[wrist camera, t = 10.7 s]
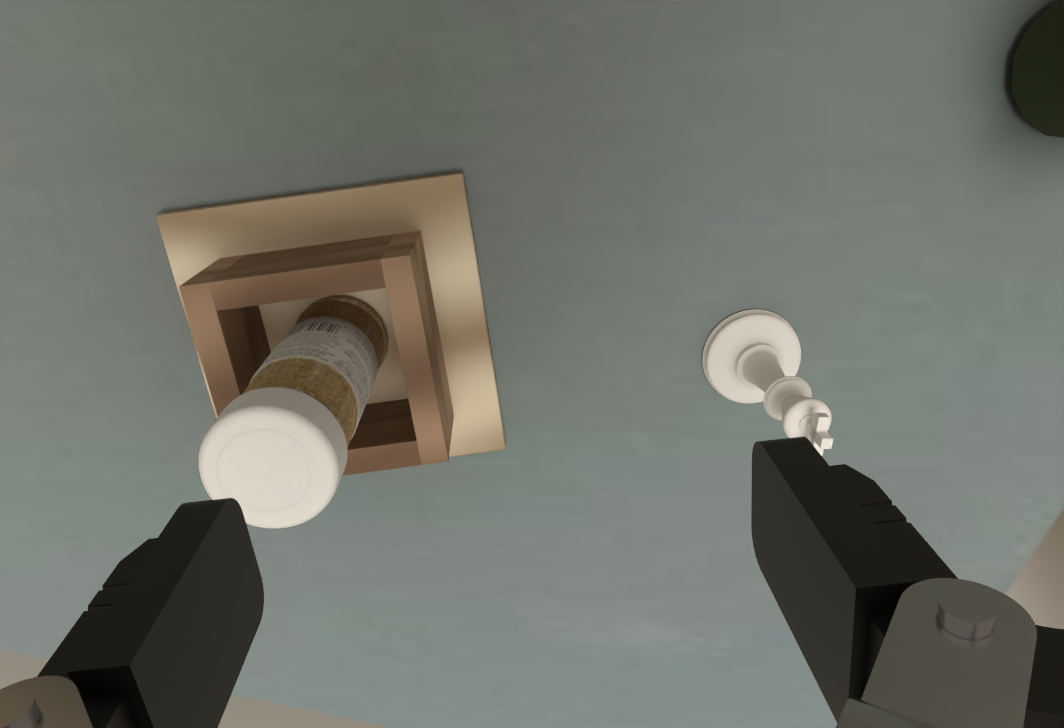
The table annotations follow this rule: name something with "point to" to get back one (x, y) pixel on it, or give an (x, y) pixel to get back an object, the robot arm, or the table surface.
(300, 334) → the sprinkles bottle
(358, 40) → the table surface
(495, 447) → the socket
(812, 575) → the robot arm
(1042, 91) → the character mug
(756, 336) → the chess piece
